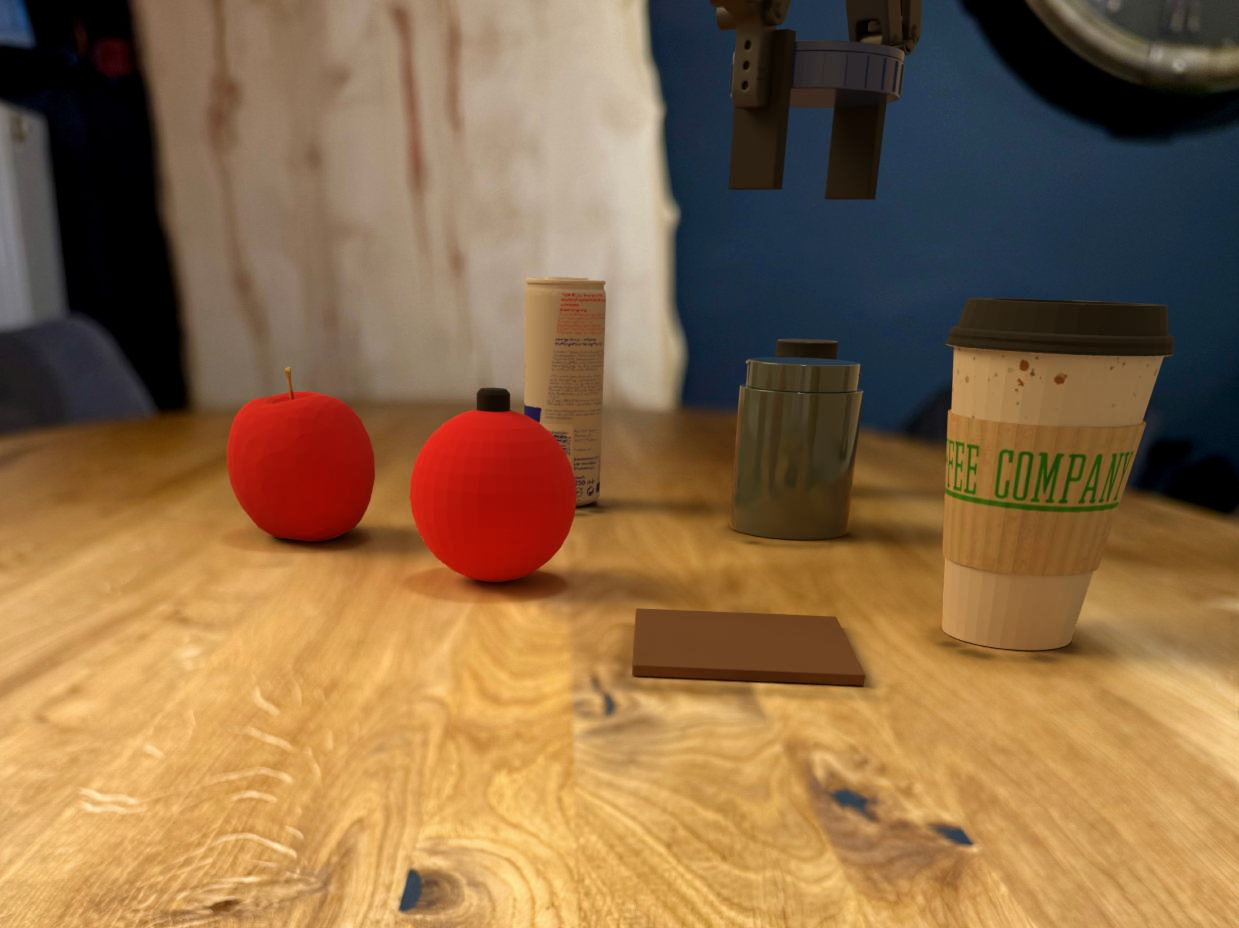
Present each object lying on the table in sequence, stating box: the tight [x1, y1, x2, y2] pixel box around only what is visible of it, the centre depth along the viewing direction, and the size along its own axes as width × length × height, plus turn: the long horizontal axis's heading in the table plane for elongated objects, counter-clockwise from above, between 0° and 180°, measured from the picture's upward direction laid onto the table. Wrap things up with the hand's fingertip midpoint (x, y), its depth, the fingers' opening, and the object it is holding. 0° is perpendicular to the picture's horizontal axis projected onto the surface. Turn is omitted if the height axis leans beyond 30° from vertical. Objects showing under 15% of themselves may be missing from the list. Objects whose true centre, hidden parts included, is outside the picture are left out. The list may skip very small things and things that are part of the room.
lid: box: [728, 39, 906, 109], centre depth 63 cm, size 8×8×2 cm
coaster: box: [631, 607, 866, 687], centre depth 59 cm, size 10×10×1 cm
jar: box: [728, 356, 865, 541], centre depth 84 cm, size 8×8×11 cm
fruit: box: [226, 366, 376, 543], centre depth 78 cm, size 9×9×10 cm
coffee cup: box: [941, 297, 1176, 651], centre depth 60 cm, size 10×10×15 cm
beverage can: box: [523, 276, 607, 507], centre depth 90 cm, size 6×6×15 cm
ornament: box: [409, 387, 577, 583], centre depth 68 cm, size 9×9×10 cm
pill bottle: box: [774, 338, 839, 360], centre depth 99 cm, size 6×6×11 cm
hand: (804, 194), depth 66 cm, fingers closed on lid, 8 cm apart
